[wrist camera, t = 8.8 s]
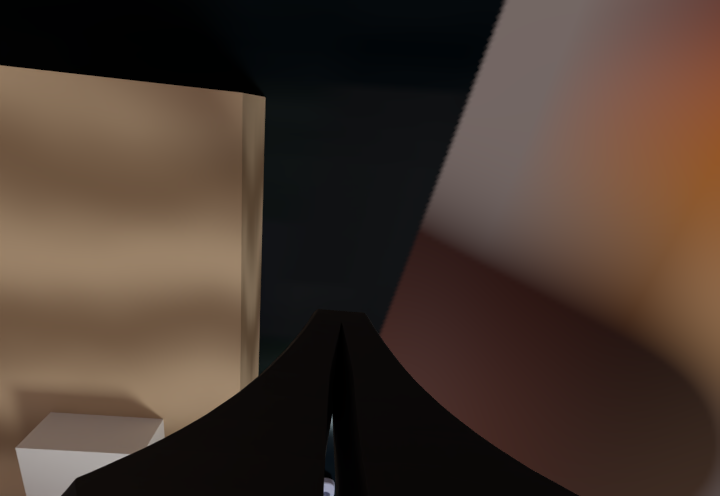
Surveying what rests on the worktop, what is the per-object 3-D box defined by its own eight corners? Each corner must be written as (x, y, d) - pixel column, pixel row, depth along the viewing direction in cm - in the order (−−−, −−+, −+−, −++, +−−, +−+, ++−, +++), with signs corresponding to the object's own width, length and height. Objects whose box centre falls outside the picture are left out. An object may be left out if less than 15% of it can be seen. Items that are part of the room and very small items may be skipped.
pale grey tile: (169, 498, 20) (149, 539, 18) (65, 493, 19) (35, 534, 17) (163, 418, 18) (141, 454, 16) (50, 412, 18) (15, 447, 16)
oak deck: (256, 446, 24) (239, 508, 20) (51, 434, 23) (-7, 497, 19) (265, 97, 17) (242, 93, 14) (-19, 65, 17) (-127, 50, 13)
